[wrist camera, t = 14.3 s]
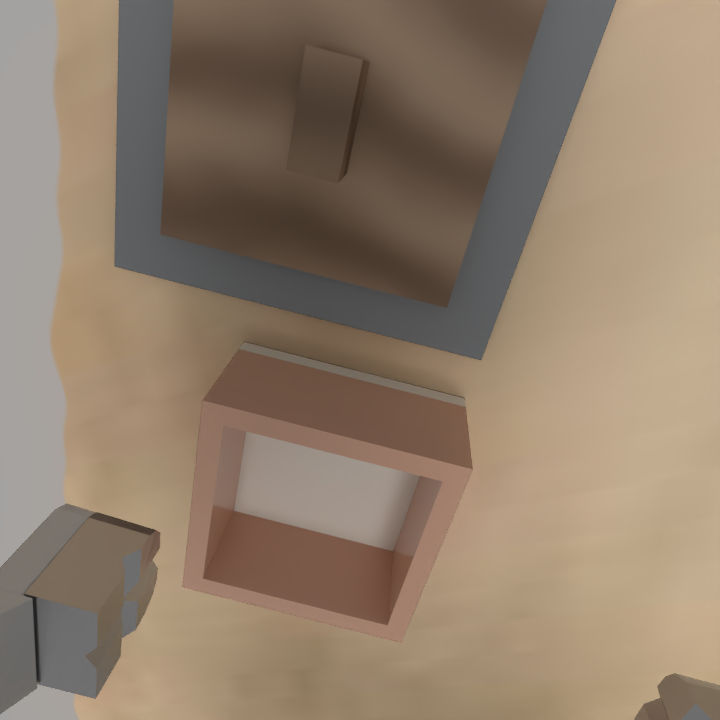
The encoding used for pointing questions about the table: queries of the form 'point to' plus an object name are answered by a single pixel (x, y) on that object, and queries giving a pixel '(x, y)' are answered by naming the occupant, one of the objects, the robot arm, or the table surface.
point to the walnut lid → (341, 131)
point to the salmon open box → (323, 490)
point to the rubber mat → (330, 296)
